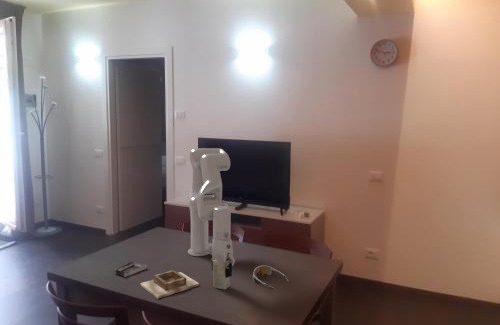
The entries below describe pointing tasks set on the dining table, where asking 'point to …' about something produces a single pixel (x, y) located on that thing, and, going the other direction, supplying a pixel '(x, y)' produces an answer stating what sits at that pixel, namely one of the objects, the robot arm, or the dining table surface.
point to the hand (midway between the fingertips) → (221, 273)
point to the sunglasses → (264, 272)
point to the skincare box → (220, 275)
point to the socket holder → (168, 284)
